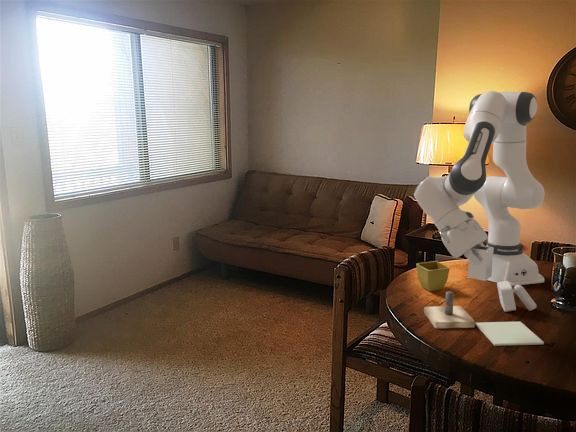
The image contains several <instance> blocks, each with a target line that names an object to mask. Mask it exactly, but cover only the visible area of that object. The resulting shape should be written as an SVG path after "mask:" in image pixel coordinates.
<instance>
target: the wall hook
mask: <svg viewBox="0 0 576 432" xmlns="http://www.w3.org/2000/svg"><path fill="white" fill-rule="evenodd" d="M496 286H497V287H496V288H497V292H498V297H499V302H500V305H501V308H502V309H503V311H504V312H505V313H506V312H513V311H516V310H517V306H516V301H515V295H516V296H517V298H519V300H520V301H521V303H522V304H523V305H524V306H525V308H526V309H527V310H528V311H533V310H535V309H536V308H537V304H536V302H535V301H534V299H532V297H531V296H530V294H529V293H528V292H527V290H526V289H525V287H524V286H522V285H515V286H511V285H510V284H509V282H508V281H503V282H496ZM514 293H515V294H514Z"/></svg>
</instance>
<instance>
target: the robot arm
mask: <svg viewBox="0 0 576 432" xmlns="http://www.w3.org/2000/svg"><path fill="white" fill-rule="evenodd" d="M537 111H538V101H537V98H536V96H535V95H534V94H533V93H532V92H528V91H521V92H520V91H499V92H498V91H496V90H489V91H485V92H483V93H479V94H477V95H475V96H474V97H473V98H472V99H471V100H470V103H469V107H468V115H467V119H466V121H465V124H464V128H463V137H464V138H465V140H466V141H467V142H468V145H467V146H466V149H465V151H464V155H463V156H462V158H460V159H459V160H458V161H456V162H455V164H454V165H453V166H452V168H451V170H450V172H449V173H448V174H447V175H446V176H438V177H435V176H430V175H429V176H426V177H425V178H423V179H422V180H421V181H420V182H419V183H418V185H417V186H416V187H415V189H414V191H413V196H414V198H415V200H416V202H417V204H418V205H419V206H420V208H421V210H423V212H424V214H426V215H427V216H429V218H431V220H432V222H433V224H434V225H435V227H436V228H437V229H438V231H439V234H440V237H441V241H442V243H443V245H444V246H445V248H446V249H447V251H448V252H449V253H450V255H451V256H452V257H453V258H456V259H457V258H459V257H461V256H463V255H464V257H465V258H466V259H467V260H468V261H469V260H471V261H472V262H473V263H474V264H475V265H477V264H479V263H480V262H481V260H480V258H479V257H477V256H475V255H474V254H473V253H472V250H471V248H473V247H474V246H476V245H483V246H489V247H494V250H493V263H492V276H491V277H490V278H488V279H487V280H486V281H489V282H493V283H497V282H503V281H508V282H509V284H510V285H511V287H515V286H516V285H521V286H522V285H530V284H531V285H532V284H541V283H545V277H544V276H543V275H542V274H540V273H539V268H538V267H539V266H538V264H537V263H536V262H535V261H534V260H533V259H531V257H529V256H528V255H527V254H526V253H524V252H529V250H530V247H529V246H528V245H527V244H526V245H525V244H523V243H521V242H520V238H521V223H520V221H519V219H517V218H516V217H514V216H513V215H512V214H511V213H510V211H509V209H508V208H513V209H517V210H519V209H520V210H533V209H538V208H539V207H540V206H541V205H542V204H543V202H544V200H545V196H546V195H545V193H546V192H545V189H544V186H543V185H542V183H541V182H539V180H537V179H536V178H535V177H534V176H533V174H532V172H531V171H530V169H529V167H528V166H529V165H528V163H527V162H528V160H527V135H528V134H527V125H528V124H529V123H531V122H532V121H533V120H534V119H535V117H536V115H537ZM491 147H492V161H493V163H494V164H495V166H496V167H498V168H500V169H501V170H502V171H503V172H504V173H505V176H506V177H505V176H496V175H490V176H487V169H486V163H487V162H486V161H487V158H488V154H489V152H490V149H491ZM472 197H474V199H475V200H476V202H478V203H479V204H480V205H481V207H482V208H483V210H484V212H485V214H486V217H487V221H488V222H487V223H488V231H487V232H488V234H487V232H486V231H485V230H484V228H483V227H482V226H481V224H480V223H479V222H478V221H477V220H476V219H475V216H474V214H473V213H472V212H470V211H466V210H463V209H461V208H460V206H462V205H464V204H467V203H468V202H469V201H470V200H471V199H472ZM485 241H486V244H484V242H485Z"/></svg>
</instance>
